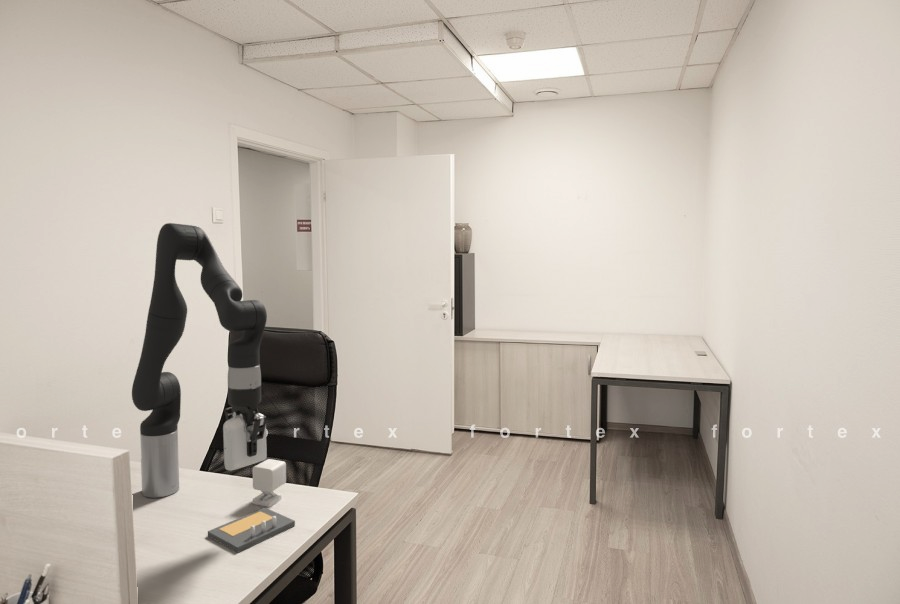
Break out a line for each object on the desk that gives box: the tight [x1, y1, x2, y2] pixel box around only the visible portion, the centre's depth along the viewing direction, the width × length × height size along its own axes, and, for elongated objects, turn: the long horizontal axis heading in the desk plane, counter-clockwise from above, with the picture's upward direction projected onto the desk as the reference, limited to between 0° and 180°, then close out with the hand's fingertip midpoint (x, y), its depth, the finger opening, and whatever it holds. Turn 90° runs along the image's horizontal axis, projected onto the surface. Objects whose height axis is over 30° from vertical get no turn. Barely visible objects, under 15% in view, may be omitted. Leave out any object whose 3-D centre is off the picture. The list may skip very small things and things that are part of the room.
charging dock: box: [207, 506, 296, 553], centre depth 140 cm, size 12×16×4 cm
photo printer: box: [222, 412, 268, 472], centre depth 139 cm, size 10×4×12 cm, turn 140°
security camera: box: [252, 458, 287, 508], centre depth 157 cm, size 6×7×10 cm
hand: (245, 453), depth 139 cm, fingers closed on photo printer, 4 cm apart
